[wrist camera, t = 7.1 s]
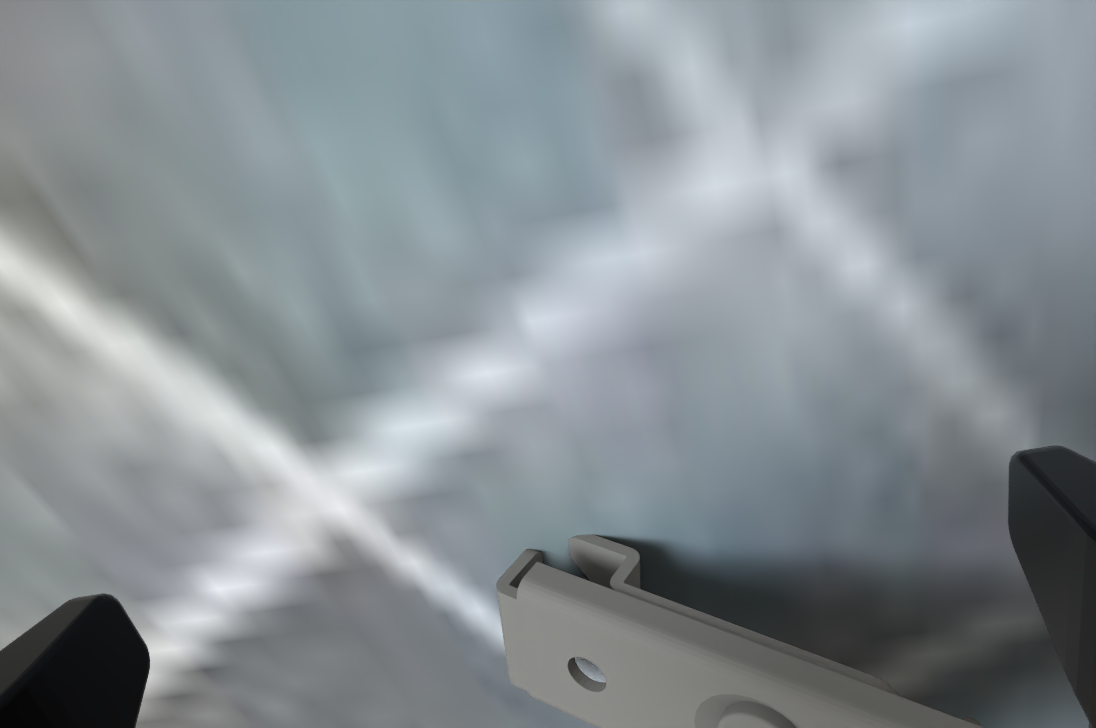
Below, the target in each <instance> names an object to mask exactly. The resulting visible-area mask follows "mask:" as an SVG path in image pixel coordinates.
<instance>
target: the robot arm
mask: <svg viewBox="0 0 1096 728" xmlns="http://www.w3.org/2000/svg"><path fill="white" fill-rule="evenodd" d="M1008 525H1009V532H1010V537H1011V540H1012V544H1013V547H1014V549H1015V552H1016V554H1017V557H1018V559H1019V562H1020V564H1021V566H1022V569H1023V571H1024V574H1025V576H1026V578H1027V581H1028V583H1029V586H1030V588H1031V591H1032V593H1033V595H1034V598H1035V600H1036V603H1037V605H1038V607H1039V610H1040V612H1041V615H1042V617H1043V619H1044V622H1045V624H1046V627H1047V629H1048V632H1049V634H1050V636H1051V639H1052V641H1053V644H1054V646H1055V648H1056V651H1057V653H1058V656H1059V658H1060V660H1061V663H1062V665H1063V668H1064V670H1065V672H1066V675H1067V677H1068V679H1069V681H1070V684H1071V686H1072V688H1073V691H1074V693H1075V695H1076V697H1077V699H1078V701H1079V703H1080V705H1081V707H1082V709H1083V711H1084V712H1085V714H1086V716H1087V718H1088V720H1089V722H1090V724H1091V726H1092V727H1093V728H1096V462H1094V461H1092V460H1090V459H1088V458H1086V457H1084V456H1082V455H1080V454H1078V453H1076V452H1074V451H1072V450H1070V449H1067V448H1065V447H1062V446H1048V447H1042V448H1035V449H1029V450H1023V451H1018V452H1016V453H1015V454H1014V455H1013V456H1012V457H1011V460H1010V463H1009V500H1008ZM149 669H150V657H149V652H148V648H147V646H146V644H145V642H144V640H143V639H142V637H141V636H140V634H139V632H138V631H137V629H136V627H135V626H134V624H133V623H132V621H131V619H130V618H129V616H128V615H127V613H126V611H125V610H124V608H123V606H122V605H121V603H120V602H119V601H118V599H116V598H115V597H113V596H112V595H110V594H97V595H91V596H84V597H78V598H74V599H71V600H69V601H67V602H66V603H64V604H63V605H62V606H60V607H59V608H58V609H56V610H55V611H53V612H52V613H51V614H49V615H48V616H47V617H45V618H44V619H43V620H41V621H40V622H39V623H37V624H36V625H35V626H33V627H32V628H31V629H29V630H28V631H27V632H25V633H24V634H22V635H21V636H20V637H18V638H17V639H16V640H14V641H13V642H12V643H10V644H9V645H8V646H6V647H5V648H4V649H2V650H1V651H0V728H135V727H136V723H137V718H138V714H139V710H140V706H141V702H142V698H143V694H144V690H145V686H146V682H147V678H148V674H149Z"/></svg>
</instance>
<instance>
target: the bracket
mask: <svg viewBox="0 0 1096 728" xmlns="http://www.w3.org/2000/svg"><path fill="white" fill-rule="evenodd" d="M568 541H569V552H570V558H571V559H572V560H573V561H574V563H575V564H576V565H577V566H578V567H579V568H580V570H581V571H582V572H583V573H584V574H585V575H586V577H587V578H588V579H589V580H590V581H591V582H590V581H588V580H585V579H582V578H580V577H577V576H574V575H572V574H569V573H566V572H564V571H561V570H558V569H555V568H553V567H550V566H547V565H545V564H543V557H542V553H541V552H539V551H535V550H531V549H526V550H525V551H524V552H523V553H522V554H521V555H520V556H519V557H518V559H517V560H516V561H515V562H514V563H513V564H512V565H511V566H510V567H509V569H508V570H507V571H506V572H505V573H504V574H503V575H502V576H501V577H500V578H499V580H498V581H497V584H496V587H497V594H498V602H499V609H500V616H501V623H502V630H503V638H504V645H505V652H506V659H507V666H508V674H509V679H510V681H511V683H512V684H514V685H515V686H517V687H520V688H522V689H524V690H526V691H528V692H529V695H530V696H531V697H533V698H535V699H537V700H539V701H542V702H544V703H546V704H548V705H550V706H553V707H555V708H557V709H559V710H561V711H563V712H566V713H568V714H570V715H572V716H574V717H576V718H579V719H581V720H583V721H585V722H587V723H590V724H592V725H594V726H596V727H598V728H983V727H982V726H981V725H980V724H979V723H978V722H977V721H975V720H974V719H972V718H970V717H965V718H964V719H963V720H961V719H959V718H956V717H953V716H951V715H948V714H945V713H943V712H940V711H937V710H934V709H932V708H929V707H926V706H924V705H921V704H918V703H916V702H913V701H910V700H908V699H905V698H902V697H900V696H899V695H898V694H897V693H896V691H895V690H894V689H893V688H892V687H891V686H890V685H888V684H887V683H886V682H884V681H883V680H881V679H879V678H877V677H875V676H872V675H869V674H867V673H864V672H861V671H859V670H856V669H853V668H851V667H848V666H845V665H843V664H840V663H837V662H835V661H832V660H829V659H826V658H824V657H821V656H818V655H816V654H813V653H810V652H808V651H805V650H802V649H800V648H797V647H794V646H792V645H789V644H786V643H783V642H781V641H778V640H775V639H773V638H770V637H767V636H765V635H762V634H759V633H757V632H754V631H751V630H749V629H746V628H743V627H740V626H738V625H735V624H732V623H730V622H727V621H724V620H722V619H719V618H716V617H714V616H711V615H708V614H706V613H703V612H700V611H697V610H695V609H692V608H689V607H687V606H684V605H681V604H679V603H676V602H673V601H671V600H668V599H665V598H663V597H660V596H657V595H654V594H652V593H649V592H646V591H644V590H641V588H640V556H639V553H638V552H637V551H636V550H635V549H633V548H630V547H627V546H625V545H622V544H619V543H616V542H613V541H610V540H607V539H605V538H602V537H599V536H596V535H577V536H574V537H572V538H570V539H568ZM574 657H581V658H585V659H587V660H589V661H591V662H592V663H593V664H595V665H596V666H597V667H598V668H599V669H600V670H601V672H602V673H603V675H604V677H605V679H606V682H605V683H602V682H597V681H594V680H592V679H590V678H589V677H587V676H586V675H585V674H584V673H583V672H582V671H581V670H580V669H579V667H578V666H577V664H576V662H575V658H574ZM1089 728H1093V727H1092V726H1091V724H1090V722H1089Z"/></svg>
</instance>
